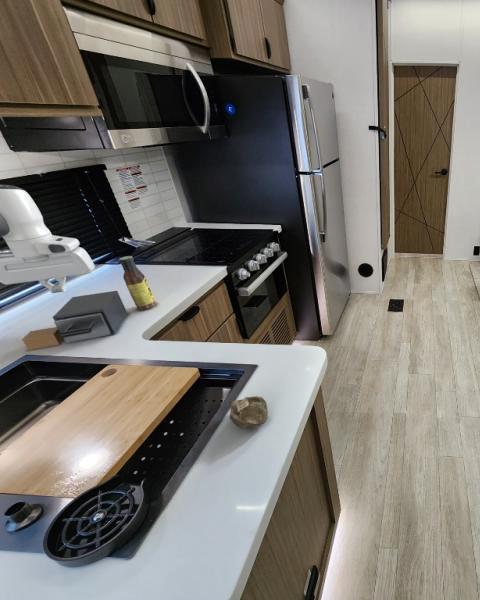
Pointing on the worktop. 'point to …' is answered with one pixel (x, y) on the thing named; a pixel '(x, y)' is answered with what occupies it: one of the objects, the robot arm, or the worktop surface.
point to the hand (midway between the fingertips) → (59, 291)
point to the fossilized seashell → (249, 412)
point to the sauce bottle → (137, 284)
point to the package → (42, 338)
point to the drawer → (82, 327)
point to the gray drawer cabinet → (96, 308)
